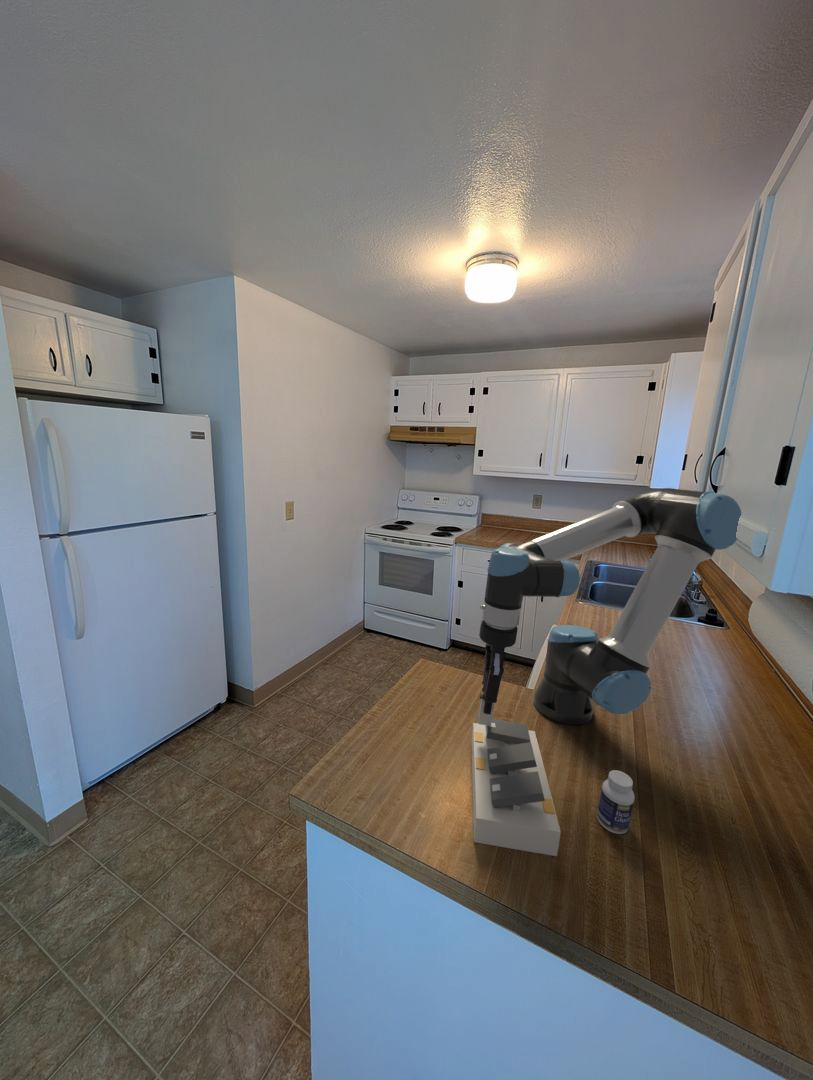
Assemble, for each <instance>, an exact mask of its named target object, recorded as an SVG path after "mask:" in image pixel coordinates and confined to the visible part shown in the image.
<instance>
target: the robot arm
mask: <svg viewBox="0 0 813 1080" xmlns="http://www.w3.org/2000/svg"><path fill="white" fill-rule="evenodd" d="M741 515H742V510H741V507H740V505H739V503H738V502H737V501H736V500H735V499H734V498H733V497H731V496H729V495H728V494H727V495H726V494H721V493H717V492H716V493H715V492H713V491H698V490H690V489H689V490H688V489H679V488H678V489H677V488H671V487H666V488H665V487H664V488H663V487H662V488H657V489H652V490H651V489H650V490H647V491H644V492H641V493H638V494H635V495H632V496H629V497H627V498H624V499H621V500H619V501H616V502H615V503H614V504H613V505H612V506H611V508H610V509H607V510H604V511H601V512H599V513H596V514H595V515H592V516H589V517H587V518H584V519H582V520H579V521H576V522H574V523H572V524H570V525H569V524H568V525H566V526H564V527H562V528H560V529H557V530H554V531H552V532H548V533H546V534H544V535H541V536H539V537H536V538H534V539H530V540H528V541H525V542H524V543H520V544H517V543H512V542H511V543H510V542H509V543H503V544H502V545H501V546H499V547H498V548H495V549H494V550H493V551H492V552H491V554H490V559H489V562H488V567H487V575H486V576H487V577H486V586H485V592H484V593H485V594H484V602H483V604H480V609H481V610H482V615H481V618H482V620H481V621H480V627H479V635H478V636H479V638H480V640H481V641H482V642H483V643H485V646H484V647H485V648H484V651H485V655H484V666H483V667H484V668H483V675H482V676H483V677H482V681H481V684H482V689H481V691H482V693H480V694H479V699H480V704H479V705H480V706H479V711H478V717H477V718H478V719H477V723H478V724H481V725H487V726H491V722H492V718H493V714H494V709H495V708H494V707H495V704H497V702H498V695H499V691H500V687H501V681H502V677H503V674H504V671H505V669H504V667H503V666H504V662H505V661H506V655H507V654H506V653H507V652H505V648H510V647H513V646H514V645H516V643H517V642H516V641H517V635H518V626H519V624H520V618H521V611H522V604H523V599H524V597H528V598H531V597H535V598H536V597H541V598H542V597H543V598H544V597H546V598H547V597H548V598H550V597H551V598H552V597H553V598H560V597H561V598H562V597H568V596H572V595H574V594H575V593H576V592H577V590H578V589H579V586H580V581H581V576H580V572H579V569H578V567H577V566H576V565H575V564H574V563H573V562H571V561H568V560H569V559H572V558H574V557H576V556H579V555H581V554H584V553H586V552H588V551H591V550H593V549H595V548H598V547H601V546H603V545H605V544H608V543H611V542H613V541H615V540H618V539H621V538H623V537H626V538H634V537H636V536H639V535H642V534H651V535H653V534H654V539H655V542H656V544H657V547H656V549H655V550H654V553H653V555H652V557H651V558H650V560H649V562H648V563H647V566H646V568H645V569H644V571H643V573H642V575H641V577H640V579H639V580H638V582H637V584H636V586H635V588H633V589H634V590H633V591H632V593H631V595H630V597H629V598H628V599H627V602H626V604H625V606H624V608H623V609H622V612H620V615H619V617H618V619H617V620H616V622H615V624H614V626H613V627H612V630H610V633H609V635H607V636H604V637H601V638H600V637H599V638H598V633H597V632H596V631H595V630H593V629H590V628H588V627H584V626H579V625H571V624H568V625H567V624H561V625H557V626H553V627H552V628H551V629H550V631H549V635H548V639H547V647H546V655H545V664H544V672H543V677H542V678H541V680H540V682H539V683H538V685H537V688H536V689H535V692H534V694H533V695H534V696H533V704H534V707H535V708H536V710H537V711H538V712H539V713H540V714H541V715H543V716H545V717H546V718H548V719H550V720H552V721H555V722H557V723H560V724H564V725H569V726H570V725H571V726H581V725H585V724H587V723H589V722H590V721H591V720H592V718H593V714H594V705H593V702H594V703H595V704H596V705H598V706H600V707H601V708H603V709H604V710H605V711H607V712H608V713H610V714H613V715H625V714H629V713H631V712H634V711H636V710H638V709H639V708H640V707H641V706H643V705H644V704H645V703H646V701H647V700H648V698H649V697H650V694H651V692H652V687H651V686H652V681H651V680H650V678H649V676H648V675H647V673H648V671H649V669H650V667H651V664H650V661H649V659H648V655H649V653H650V651H651V649H652V648H653V646H654V644H655V642H656V640H657V639H658V637H659V635H660V633H661V632H662V630H663V628H664V627H665V624H666V622H667V621H668V619H669V617H670V615H671V614H672V612H673V610H674V608H675V606H676V604H677V603H678V602H679V600H680V597H681V596H682V593H684V590H685V588H686V587H687V585H688V584H689V581H690V579H691V578H692V576H693V574H694V573H695V571H696V569H697V567H698V565H699V564H700V563H701V562H705V561H709V560H711V558H712V556H714V553H715V552H716V550H718V551H719V550H726V549H728V548H729V547H730V546H733V545H734V544H735V543H736V542H737V540H738V539H737V538H736V532H737V526H738V521H739V518H740V516H741Z"/></svg>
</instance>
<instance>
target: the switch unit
mask: <svg viewBox="0 0 813 1080" xmlns="http://www.w3.org/2000/svg"><path fill="white" fill-rule="evenodd" d="M528 732H529V736H530V742H531V744H532V748H533V752H534V756H535V761H536V765H537V767H532V768H526V769H519V770H513V771H506V772H500V773H493V774H491V773H490V770H489V765H488V752H487V749H491V748H497V747H503V746H509V745H515V744H513V743H508V742H503V741H498V740H493V739H488V738H486V726H485V725H481V724H478V722H476V723H475V722H472V731H471V742H470V743H471V771H472V773H471V776H472V777H471V778H472V779H471V780H472V781H471V782H472V812H473V813H472V814H473V815H472V817H473V819H472V820H473V822H472V824H473V842H474V843H476V844H477V843H478V844H482V845H483V844H484V845H488V846H495V847H500V848H504V849H505V848H507V849H511V850H517V851H523V852H528V853H529V852H530V853H535V854H542V855H545V856H553V857H558V851H559V846H560V839H561V832H562V831H561V828H560V824H559V819H558V815H557V812H556V808H555V804H554V801H553V797H552V793H551V789H550V785H549V782H548V776H547V773H546V769H545V765H544V762H543V758H542V753H541V749H540V746H539V742H538V739H537V734H536V731H535V730H530V729H528ZM536 771H538V774H539V778H540V782H541V786H542V790H543V795H544V799H545V801H540V802H533V803H526V804H519V805H511V806H504V807H497V808H493V804H492V801H491V790H490V778H497V777H503V776H510V775H517V774H523V773H530V772H536Z"/></svg>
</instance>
